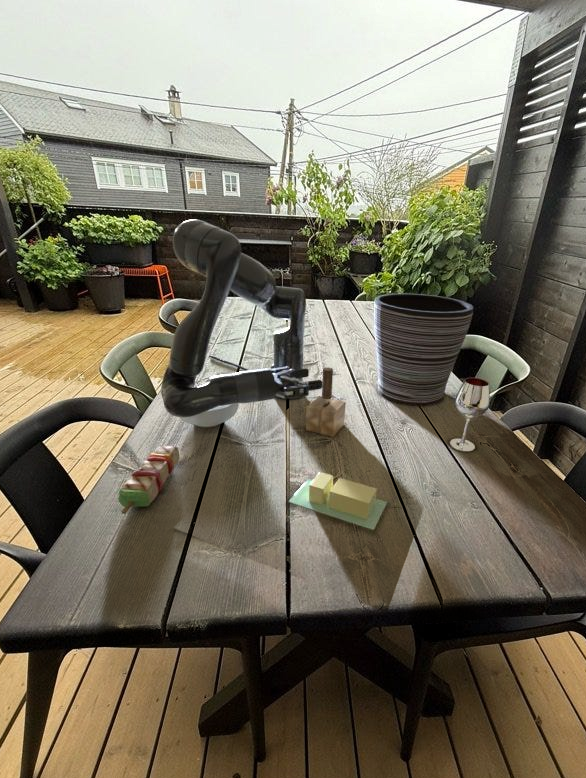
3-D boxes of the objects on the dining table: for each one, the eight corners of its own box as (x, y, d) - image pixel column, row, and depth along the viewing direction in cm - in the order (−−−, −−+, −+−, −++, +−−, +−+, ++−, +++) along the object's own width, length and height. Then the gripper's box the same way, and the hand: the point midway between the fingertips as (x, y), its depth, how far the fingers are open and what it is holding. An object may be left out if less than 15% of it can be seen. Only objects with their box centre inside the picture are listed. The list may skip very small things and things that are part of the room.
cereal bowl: (252, 416, 114) (251, 393, 110) (212, 441, 100) (210, 416, 97) (205, 403, 120) (202, 381, 117) (162, 425, 106) (158, 401, 103)
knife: (319, 428, 109) (321, 369, 102) (323, 424, 111) (325, 366, 104) (327, 430, 108) (330, 371, 101) (331, 426, 111) (334, 368, 103)
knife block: (305, 429, 108) (306, 406, 105) (318, 418, 115) (319, 396, 111) (332, 436, 105) (334, 413, 102) (344, 424, 112) (345, 401, 109)
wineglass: (478, 441, 107) (494, 379, 99) (478, 456, 100) (494, 390, 92) (447, 435, 109) (460, 373, 101) (445, 449, 102) (458, 384, 94)
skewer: (156, 460, 91) (153, 441, 89) (184, 462, 91) (182, 443, 89) (107, 522, 73) (101, 500, 71) (142, 524, 73) (138, 502, 71)
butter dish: (288, 504, 80) (288, 485, 78) (308, 481, 87) (308, 462, 85) (373, 533, 74) (375, 512, 72) (387, 504, 81) (389, 485, 79)
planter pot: (450, 418, 119) (471, 317, 105) (354, 399, 127) (362, 304, 114) (458, 384, 144) (476, 300, 131) (378, 370, 153) (387, 290, 139)
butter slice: (308, 501, 80) (309, 484, 78) (319, 487, 84) (320, 471, 82) (322, 505, 79) (323, 489, 77) (332, 491, 83) (333, 475, 81)
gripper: (260, 382, 88) (327, 373, 94) (243, 361, 99) (304, 355, 106) (262, 412, 91) (326, 402, 98) (245, 389, 102) (303, 381, 109)
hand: (314, 378), depth 102 cm, fingers open, 8 cm apart
